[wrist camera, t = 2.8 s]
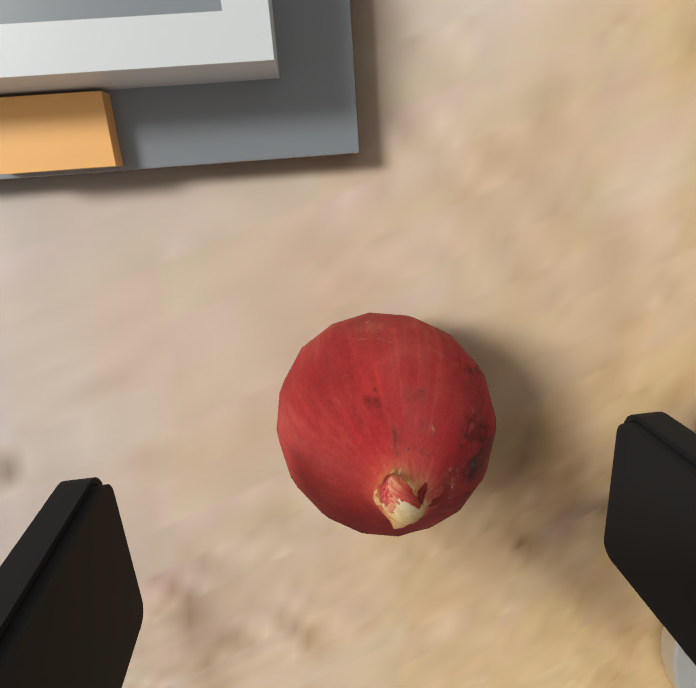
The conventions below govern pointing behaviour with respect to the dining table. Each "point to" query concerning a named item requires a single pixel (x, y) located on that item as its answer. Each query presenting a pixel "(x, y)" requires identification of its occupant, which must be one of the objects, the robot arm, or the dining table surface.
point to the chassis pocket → (172, 83)
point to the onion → (385, 424)
